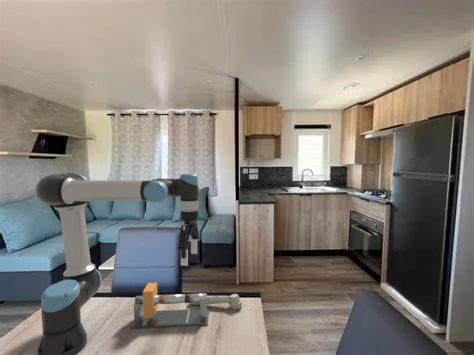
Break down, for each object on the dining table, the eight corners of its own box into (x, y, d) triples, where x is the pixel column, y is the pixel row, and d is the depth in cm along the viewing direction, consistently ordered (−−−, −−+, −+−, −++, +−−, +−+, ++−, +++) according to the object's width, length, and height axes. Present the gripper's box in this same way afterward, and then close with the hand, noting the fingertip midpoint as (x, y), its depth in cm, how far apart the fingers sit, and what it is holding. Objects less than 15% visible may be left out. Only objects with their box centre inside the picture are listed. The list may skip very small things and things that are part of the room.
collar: (143, 318, 107) (142, 291, 106) (148, 307, 115) (148, 282, 114) (153, 317, 107) (152, 291, 107) (157, 307, 115) (157, 282, 114)
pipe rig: (130, 328, 105) (129, 303, 105) (138, 313, 116) (138, 290, 116) (207, 325, 107) (207, 300, 107) (209, 310, 118) (208, 287, 118)
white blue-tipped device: (191, 293, 126) (241, 290, 122) (193, 306, 126) (243, 303, 122) (188, 299, 121) (239, 295, 117) (190, 312, 121) (241, 310, 117)
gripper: (188, 216, 95) (188, 271, 96) (205, 205, 120) (205, 249, 121) (169, 215, 96) (169, 270, 97) (189, 205, 121) (190, 249, 122)
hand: (189, 259), depth 109 cm, fingers open, 13 cm apart
